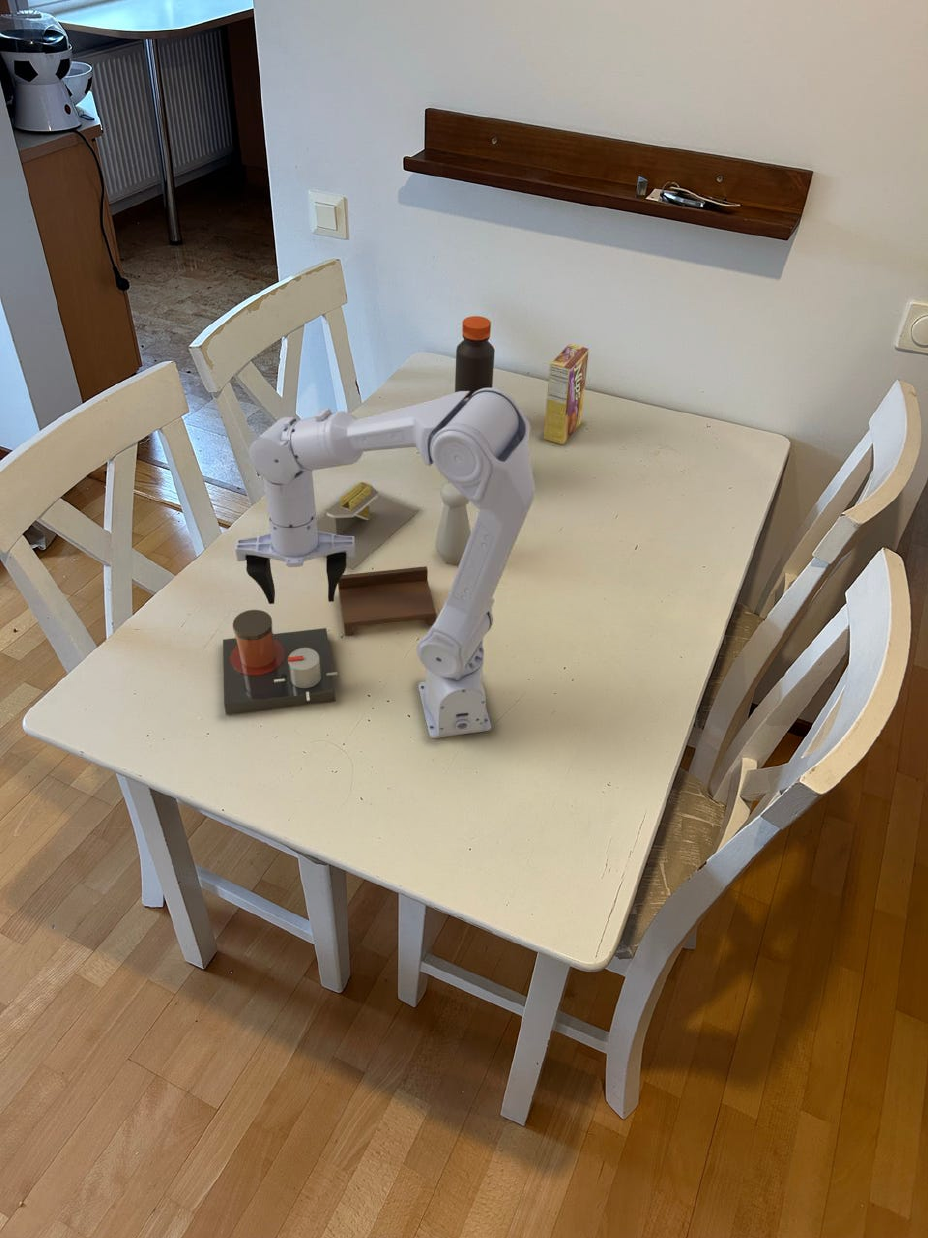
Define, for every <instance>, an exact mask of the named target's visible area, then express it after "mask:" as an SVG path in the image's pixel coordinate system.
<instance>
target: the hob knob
mask: <svg viewBox="0 0 928 1238" xmlns="http://www.w3.org/2000/svg"><path fill="white" fill-rule="evenodd" d="M288 665H289V673H290V680H291V682H292V684H293V685H295V686H296V687H299V688H311V687H313V686H315V685H317V684H318V683H319V681H320V680H321V668H320V659H319V654H318V653H317V652H316V651H315V650H313V649H310V648H300V649H297V650H295V651H293V652H292V653H291V654H290V655H289V657H288Z"/></svg>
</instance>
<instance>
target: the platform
mask: <svg viewBox="0 0 928 1238" xmlns="http://www.w3.org/2000/svg"><path fill="white" fill-rule="evenodd" d="M418 512H419V511H418V510H416V509H414V508H411V507H410V506H406V505H404V504H402V503H399V502H397V501H394V500H392V499H389V498H387V497H385V496H383V495H380V494H379V492H378V490H377V489H376V488H375V487H374V486H373V485H372V484H371V483H368V482H365V481H360V482H359V483H357V484H356V485H355V486H354V487H352V488H351V489H350V490H348V491H347V492H346V493H345V494H343V495H342V496H341V497H340V498H339V500H338V501H337V502H336V503H335V504H333V505H332V506H331V507H329V508H328V509H327V510H326V513H325V514H324V515H323V516H321V517H320V518H319V519H317V529H318V531H321V532H326V533H331V534H336V535H342V536H354V542H355V557H350V558H348V557H346V568H349V569H351V570H354V569H355V568H356V567H357V566H358V565H360V563H362V562H363V561H364V560H365V559H366V558H368V556H370V555H371V554H372V553H373V552H374V551H376V549H377V548H379V547H380V546H381V545H382V544H384V542H385V541H387V539H389V538H390V537H391V536H393V534H394V533H396V531H398V530H399V529H400V528H401V527H402V526H404V524H406V523H407V522H408V521H409V520H410V519H411V518H412V517H413V516H414V515H416V514H417V513H418ZM323 557H324V558H326V559H327V555H326V556H323Z"/></svg>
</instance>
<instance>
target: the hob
mask: <svg viewBox="0 0 928 1238" xmlns="http://www.w3.org/2000/svg"><path fill="white" fill-rule="evenodd" d="M273 636H274V640H276V641H278V642H279V643H280V644H281V645H282V646H283V648H284V650H285V658H284V661H283V662H282V664H281V665H280V666H279V667H278V668H277V669H275V670H274V671H272V672H270V673H267V674H264V675H259V676H250V675H245V674H242V673H240V672H238V671H236V670H235V669H234V668H233V666H232V665H231V662H230V656H231V653H232V651H233V649H234V648H235V647H236V646H237V642H236V637H234V638H226V639H222V658H223V659H222V662H223V663H222V664H223V705H224V710H225V714H226V716H229V715H239V714H244V713H245V714H247V713H254V712H261V711H262V712H263V711H268V710H278V709H285V708H291V707H292V708H293V707H301V706H309V705H316V704H324V703H333V702H336V701H337V698H336V689H335V681H334V676H337V675H338V672H337V671H333V667H332V666H333V665H332V660H331V652H330V644H329V638H328V637H329V636H328V630H327V627H324V628H323V627H322V628H314V629H305V630H296V631H288V632H280V633H273ZM300 648H310V649H313V650H315V651H316V652H317V653H318V654H319V659H320V668H321V680H320V681H319V683H318V684H317V685H315V686H313V687H311V688H299V687H296V686H295V685H293V684H292V682H291V680H290V673H289V665H288V657H289V655H290V654H291V653H292V652H293V651H295V650H297V649H300Z"/></svg>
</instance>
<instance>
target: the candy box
mask: <svg viewBox="0 0 928 1238" xmlns="http://www.w3.org/2000/svg"><path fill="white" fill-rule="evenodd" d="M589 352H590V348H587V347H584V346H581V345H576V344H572V343H568V345H567V346H566V347H565V348H564V349H563V350H562V351H561V352H560V353H559V354H558V355H557V356H556V357H555V358H554V359H553V360H552V361H551V363H550V364H549V373H548V382H547V383H548V385H547V395H546V406H545V416H544V418H545V419H544V428H543V429H544V430H543V440H545V441H548V442H551V443H556V444H559V445H564V444H565V442H566V441H567V440H568V439H569V438H570V437H571V435H572V434H573V433H574V432H575V430H576V429H577V428H578V427H579V426H580V424H581V423H582V414H583V405H584V397H585V388H586V379H587V370H588V360H589Z"/></svg>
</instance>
